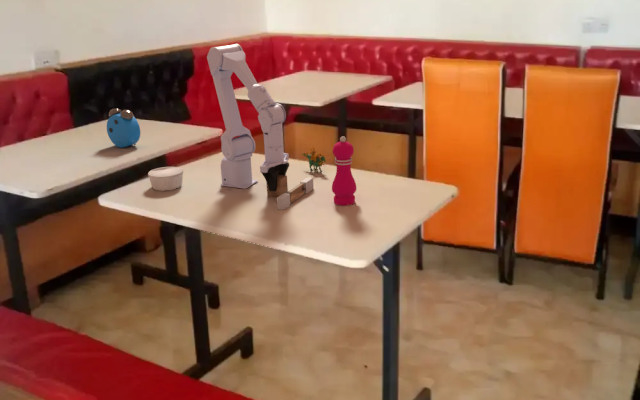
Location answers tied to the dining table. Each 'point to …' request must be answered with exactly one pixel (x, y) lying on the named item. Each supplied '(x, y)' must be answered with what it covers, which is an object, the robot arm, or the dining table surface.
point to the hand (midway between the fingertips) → (276, 188)
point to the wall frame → (284, 199)
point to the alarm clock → (123, 128)
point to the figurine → (315, 159)
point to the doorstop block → (279, 187)
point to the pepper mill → (343, 174)
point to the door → (297, 192)
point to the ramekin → (166, 178)
